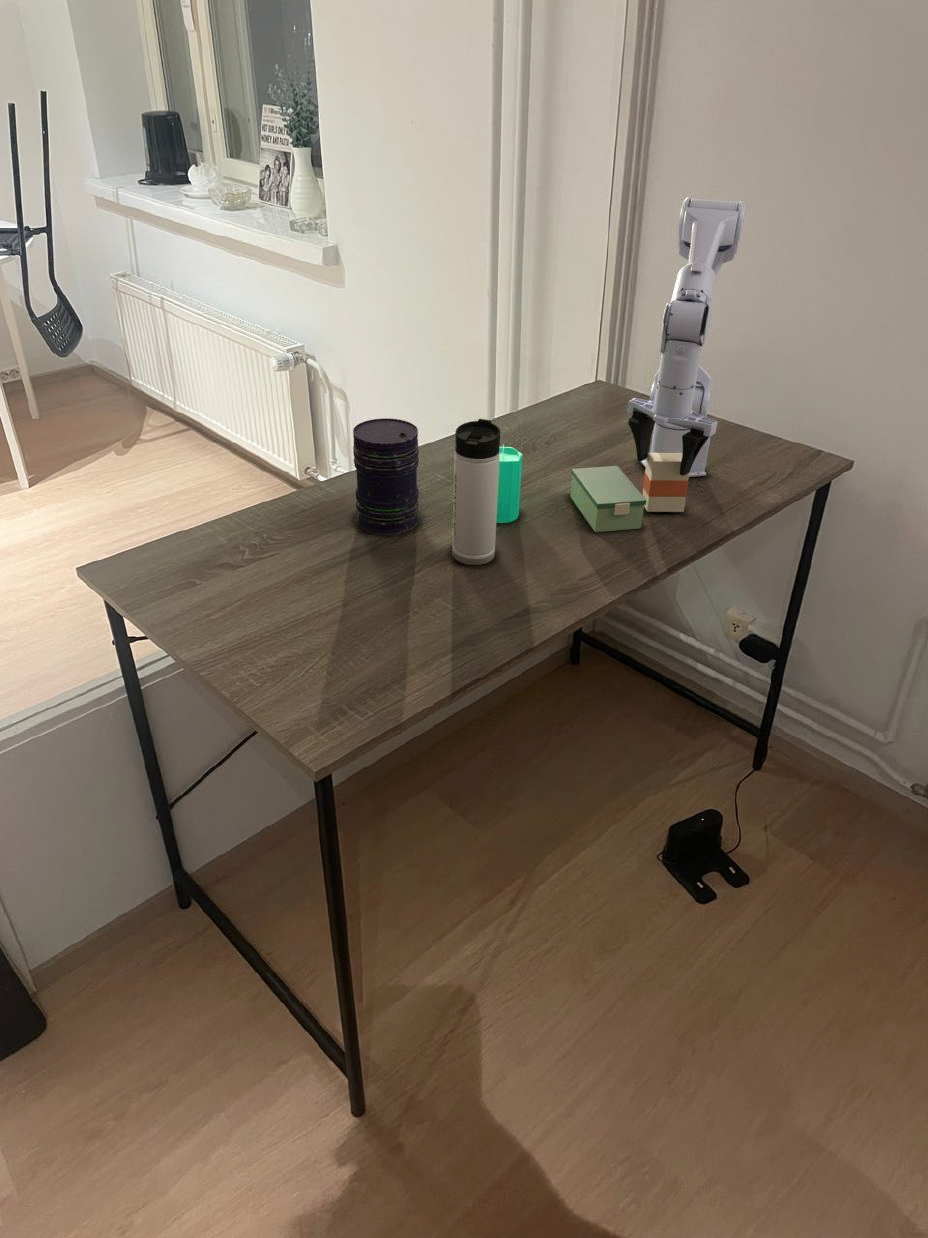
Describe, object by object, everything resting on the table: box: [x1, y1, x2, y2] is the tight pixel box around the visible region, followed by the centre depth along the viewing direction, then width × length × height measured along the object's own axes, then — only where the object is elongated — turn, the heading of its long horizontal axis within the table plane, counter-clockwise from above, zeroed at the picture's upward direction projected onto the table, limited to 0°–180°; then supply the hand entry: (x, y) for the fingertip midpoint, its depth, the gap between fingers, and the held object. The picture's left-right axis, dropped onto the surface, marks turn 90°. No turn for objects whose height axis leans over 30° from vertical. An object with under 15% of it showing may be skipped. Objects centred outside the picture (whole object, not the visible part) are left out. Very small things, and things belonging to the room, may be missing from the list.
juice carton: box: [642, 452, 690, 513], centre depth 147 cm, size 4×6×8 cm
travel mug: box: [452, 418, 501, 566], centre depth 129 cm, size 6×7×20 cm
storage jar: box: [352, 417, 420, 536], centre depth 139 cm, size 10×10×15 cm
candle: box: [496, 443, 523, 524], centre depth 142 cm, size 6×6×12 cm
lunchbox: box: [570, 465, 647, 533], centre depth 146 cm, size 8×14×5 cm, turn 12°
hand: (663, 466), depth 145 cm, fingers open, 7 cm apart
